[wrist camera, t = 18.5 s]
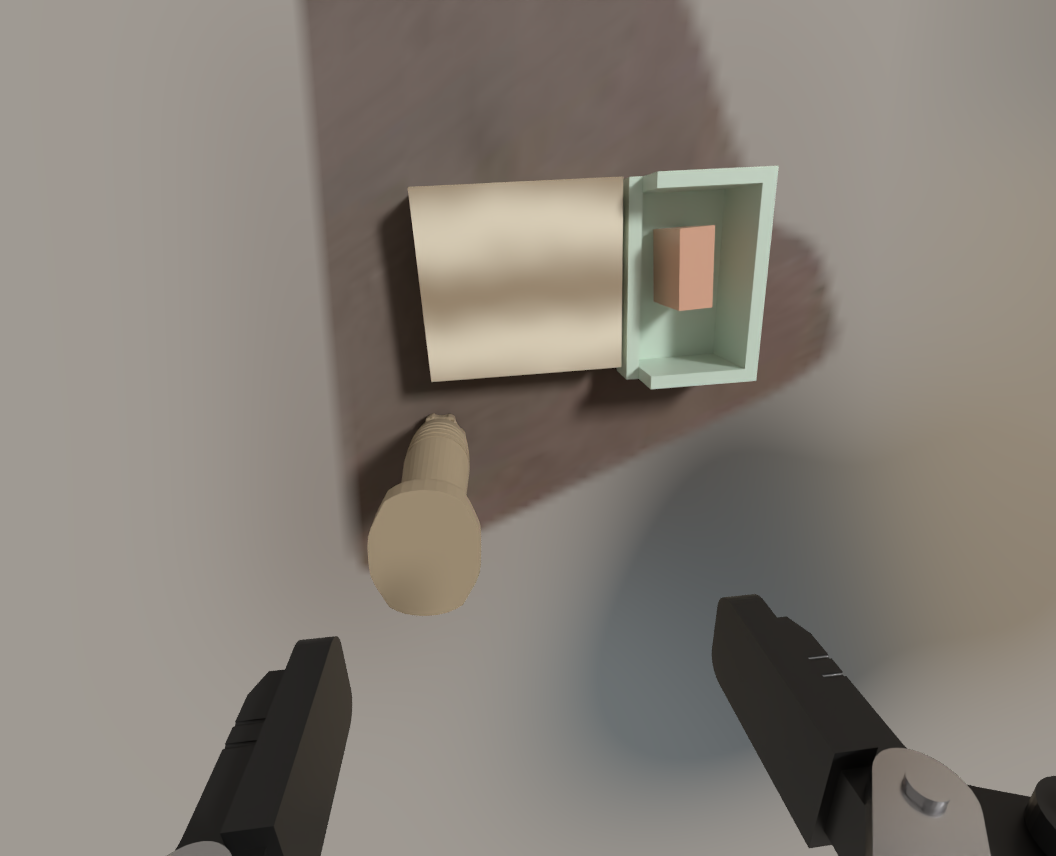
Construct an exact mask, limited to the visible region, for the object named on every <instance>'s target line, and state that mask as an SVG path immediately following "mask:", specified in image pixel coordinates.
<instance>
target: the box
mask: <svg viewBox="0 0 1056 856" xmlns="http://www.w3.org/2000/svg"><path fill="white" fill-rule="evenodd" d="M778 167H779V166H763V167H742V168H721V169H701V170H680V171H659V172H655V173H652V174H649V175H646V176H640V177H628V178H625V179H623V254H622V347H621V367H617V371H618V372H619V373H620V374H621V375H622V376H623V377H624V378H625V379H626V380H629V379H639V380H641V381H642V382H643V383H644V384H645V385H646V386H648V387H649V388H650V389H661V388H673V387H685V386H697V385H710V384H722V383H734V382H746V381H756V377H757V367H758V358H759V348H760V339H761V329H762V320H763V310H764V301H765V291H766V282H767V272H768V263H769V253H770V244H771V234H772V225H773V215H774V206H775V196H776V186H777V177H778ZM703 225H715V243H714V273H713V303H712V307H711V308H702V309H693V310H684V311H677V310H675V309H672V308H669V307H667V306H664V305H661V304H659V303H656V302H654V275H653V229H660V228H670V227H680V226H703Z"/></svg>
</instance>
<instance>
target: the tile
mask: <svg viewBox="0 0 1056 856" xmlns="http://www.w3.org/2000/svg"><path fill="white" fill-rule="evenodd" d="M714 243H715V225H703V226H680V227H670V228H660V229H653V275H654V302H656V303H659V304H661V305H664V306H667V307H669V308H672V309H675V310H677V311H684V310H693V309H702V308H711V307H712V303H713V273H714Z"/></svg>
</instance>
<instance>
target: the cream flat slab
mask: <svg viewBox="0 0 1056 856" xmlns="http://www.w3.org/2000/svg"><path fill="white" fill-rule="evenodd" d="M408 194H409V202H410V210H411V219H412V227H413V235H414V243H415V251H416V260H417V268H418V276H419V284H420V292H421V301H422V309H423V317H424V325H425V333H426V342H427V350H428V358H429V366H430V374H431V382H438V381H451V380H464V379H476V378H489V377H502V376H515V375H528V374H540V373H553V372H566V371H579V370H591V369H604V368H617V367H621V347H622V254H623V177H604V178H584V179H563V180H542V181H522V182H501V183H481V184H460V185H440V186H419V187H408Z"/></svg>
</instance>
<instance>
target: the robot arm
mask: <svg viewBox="0 0 1056 856" xmlns="http://www.w3.org/2000/svg"><path fill="white" fill-rule="evenodd" d="M712 663H713V667H714V671H715V675H716V678H717V680H718V682H719V684H720V686H721V688H722V690H723V691H724V693H725V695H726V697H727V699H728V701H729V703H730V704H731V706H732V708H733V710H734V712H735V714H736V715H737V717H738V719H739V721H740V723H741V725H742V726H743V728H744V730H745V732H746V734H747V735H748V737H749V739H750V741H751V743H752V745H753V747H754V748H755V750H756V752H757V754H758V756H759V757H760V759H761V761H762V763H763V765H764V767H765V769H766V770H767V772H768V774H769V776H770V778H771V780H772V781H773V783H774V785H775V787H776V789H777V791H778V792H779V794H780V796H781V798H782V800H783V801H784V803H785V805H786V807H787V809H788V811H789V812H790V814H791V816H792V818H793V820H794V821H795V824H796V825H797V827H798V829H799V831H800V833H801V835H802V836H803V838H804V840H805V842H806V844H807V845H808V847H809V848H813V847H820V846H827V845H833V847H834V849H835V850H836V852H837V854H838V856H1056V776H1051V777H1046V778H1044V779H1042V780H1040V781H1039V782H1038V784H1037V785H1036V787H1035V790H1034V792H1033V794H1032V796H1031V797H1028V796H1023V795H1017V794H1012V793H1007V792H1001V791H996V790H991V789H985V788H980V787H975V786H971V785H967V784H966V783H965V782H964V781H963V780H962V779H961V778H960V777H959V776H958V775H957V774H956V773H954V772H953V771H952V770H951V769H949V768H948V767H947V766H945V765H944V764H942V763H941V762H939V761H937V760H935V759H934V758H932V757H930V756H928V755H925V754H923V753H920V752H917V751H914V750H910V749H907V748H906V747H905V746H904V745H903V744H902V743H901V741H900V740H899V739H898V738H897V737H896V735H895V734H894V733H893V732H892V731H891V729H890V728H889V727H888V726H887V725H886V723H885V722H884V721H883V720H882V719H881V717H880V716H879V715H878V714H877V713H876V711H875V710H874V709H873V708H872V707H871V705H870V704H869V703H868V702H867V701H866V699H865V698H864V697H863V696H862V695H861V693H860V692H859V691H858V690H857V688H856V687H855V686H854V685H853V684H852V683H851V681H850V680H849V679H848V678H847V676H843V673H842V670H841V669H840V668H839V667H838V666H837V664H836V663H835V662H834V661H833V660H832V659H829V657H828V654H827V652H826V651H825V650H824V649H823V648H822V646H821V645H820V644H819V643H818V642H817V640H816V639H815V638H814V637H813V636H812V634H811V633H809V632H808V631H806V630H805V629H804V628H802V627H801V626H799V625H798V624H796V623H795V622H793V621H792V620H791V619H789V618H788V617H779V618H777V617H776V616H775V614H774V613H773V612H772V610H771V609H770V608H769V607H768V605H767V604H766V603H765V602H764V600H763V599H762V598H761V597H760V596H758V595H756V594H752V595H742V596H734V597H733V596H732V597H724V598H721V599H720V600H719V602H718V607H717V615H716V623H715V630H714V638H713V646H712ZM351 716H352V693H351V687H350V683H349V679H348V673H347V669H346V664H345V659H344V655H343V651H342V646H341V642H340V639H339V638H338V637H337V636H335V637H325V638H316V639H306V640H299V641H298V642H297V643H296V645H295V647H294V649H293V651H292V654H291V656H290V659H289V662H288V664H287V666H286V669H285V670H277V671H269V672H268V673H267V674H266V675H265V676H264V677H263V679H262V680H261V681H260V682H259V683H258V684H257V685H256V686H255V687H254V688H253V690H252V691H251V692H250V693H249V694H248V695H247V698H246V699H245V702H244V704H243V706H242V708H241V711H240V713H239V715H238V717H237V719H236V721H235V722H236V724H235V727H233V728H232V730H231V732H230V734H229V737H228V739H227V741H226V743H225V745H226V746H225V749H223V750H222V752H221V754H220V757H219V759H218V761H217V763H216V765H215V767H214V770H213V772H212V774H211V776H210V778H209V781H208V783H207V785H206V787H205V789H204V791H203V793H202V796H201V798H200V800H199V802H198V804H197V807H196V809H195V811H194V813H193V816H192V818H191V820H190V822H189V824H188V826H187V829H186V831H185V833H184V835H183V837H182V839H181V841H180V843H179V845H178V847H177V848H176V850H175V851H174V852H172V853H171V854H169V855H167V856H321V851H322V846H323V843H324V838H325V834H326V829H327V825H328V821H329V816H330V812H331V807H332V803H333V799H334V794H335V790H336V785H337V781H338V776H339V772H340V768H341V764H342V759H343V755H344V750H345V746H346V741H347V737H348V733H349V728H350V723H351Z"/></svg>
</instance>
